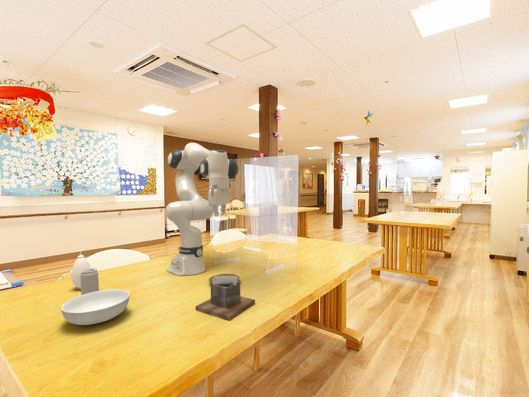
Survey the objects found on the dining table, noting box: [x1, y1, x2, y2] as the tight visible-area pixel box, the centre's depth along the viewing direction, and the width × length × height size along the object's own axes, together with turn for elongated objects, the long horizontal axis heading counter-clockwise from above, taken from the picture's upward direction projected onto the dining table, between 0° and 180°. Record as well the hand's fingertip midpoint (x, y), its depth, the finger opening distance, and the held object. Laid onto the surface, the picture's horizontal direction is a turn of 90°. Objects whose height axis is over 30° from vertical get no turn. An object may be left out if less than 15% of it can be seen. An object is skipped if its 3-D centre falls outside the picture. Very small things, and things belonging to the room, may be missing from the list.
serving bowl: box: [60, 288, 131, 326], centre depth 98 cm, size 21×21×7 cm
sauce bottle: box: [71, 249, 92, 290], centre depth 129 cm, size 8×8×18 cm
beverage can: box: [80, 268, 100, 296], centre depth 117 cm, size 6×6×12 cm
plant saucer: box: [208, 273, 240, 285], centre depth 132 cm, size 15×15×3 cm
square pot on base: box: [195, 281, 256, 321], centre depth 105 cm, size 16×16×9 cm
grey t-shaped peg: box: [213, 275, 239, 287], centre depth 105 cm, size 9×3×10 cm, turn 82°
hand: (219, 215), depth 126 cm, fingers open, 8 cm apart
